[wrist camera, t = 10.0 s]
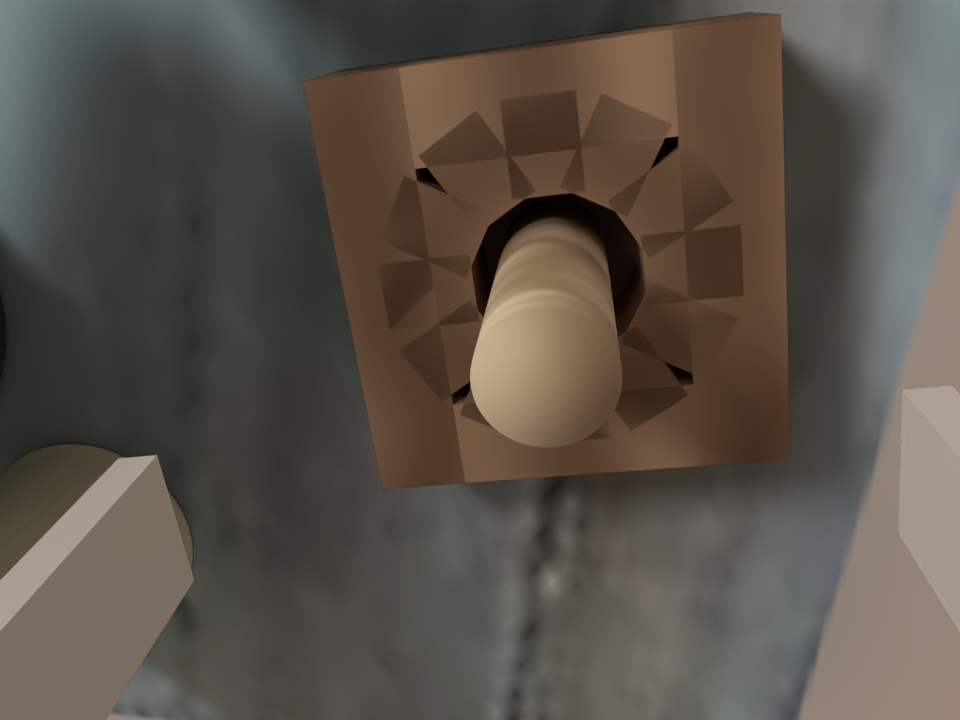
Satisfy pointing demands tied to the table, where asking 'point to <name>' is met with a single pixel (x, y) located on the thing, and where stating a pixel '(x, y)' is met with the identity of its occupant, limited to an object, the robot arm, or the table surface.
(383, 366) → the bore block
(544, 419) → the dowel pin
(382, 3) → the table surface
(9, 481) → the can
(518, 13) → the table surface
